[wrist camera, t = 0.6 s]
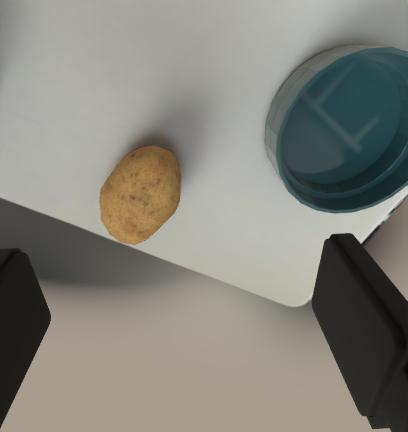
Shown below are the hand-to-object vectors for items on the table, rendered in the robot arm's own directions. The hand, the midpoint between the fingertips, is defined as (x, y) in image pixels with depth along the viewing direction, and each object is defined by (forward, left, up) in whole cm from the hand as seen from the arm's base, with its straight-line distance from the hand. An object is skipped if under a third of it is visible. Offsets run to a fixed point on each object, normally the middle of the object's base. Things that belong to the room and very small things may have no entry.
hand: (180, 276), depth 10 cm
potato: (+11, -6, -33) cm, 36 cm away
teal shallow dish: (+5, +19, -33) cm, 39 cm away
